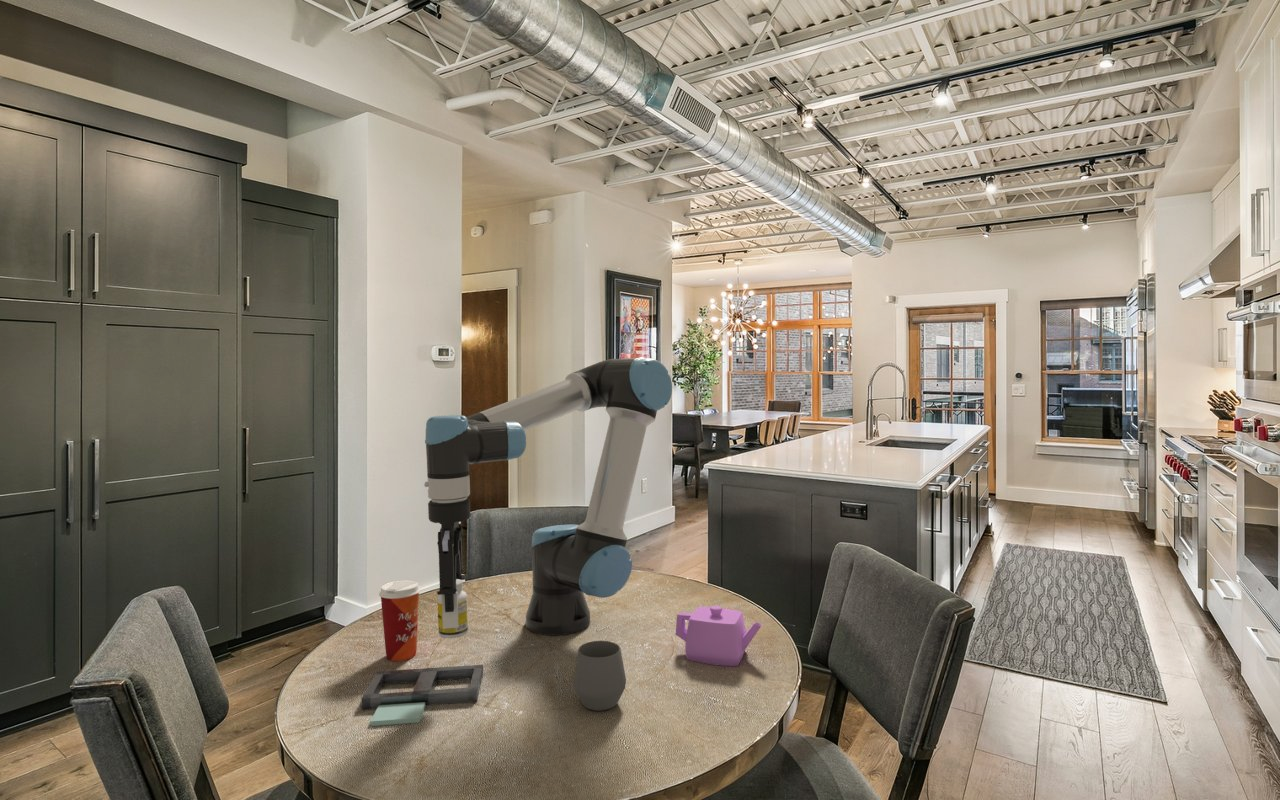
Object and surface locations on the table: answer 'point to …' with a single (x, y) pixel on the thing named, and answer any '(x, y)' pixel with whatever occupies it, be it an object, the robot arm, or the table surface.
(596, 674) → the cup
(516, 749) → the table surface
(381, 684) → the grey rectangular frame
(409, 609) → the coffee cup
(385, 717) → the mat
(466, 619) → the supplement bottle
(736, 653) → the teapot
